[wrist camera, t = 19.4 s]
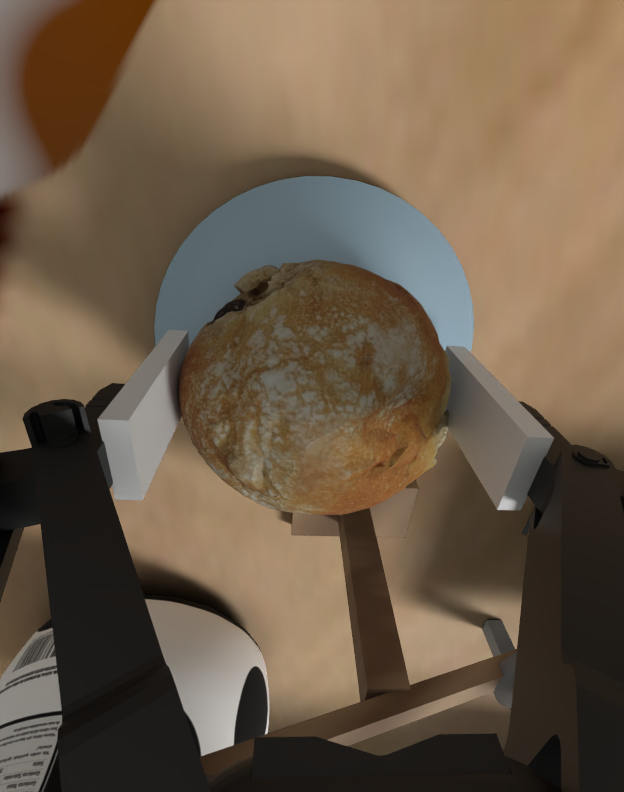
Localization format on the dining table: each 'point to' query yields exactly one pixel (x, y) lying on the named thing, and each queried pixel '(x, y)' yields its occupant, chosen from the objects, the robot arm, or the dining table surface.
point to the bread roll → (317, 388)
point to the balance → (378, 643)
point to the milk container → (192, 672)
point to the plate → (315, 251)
